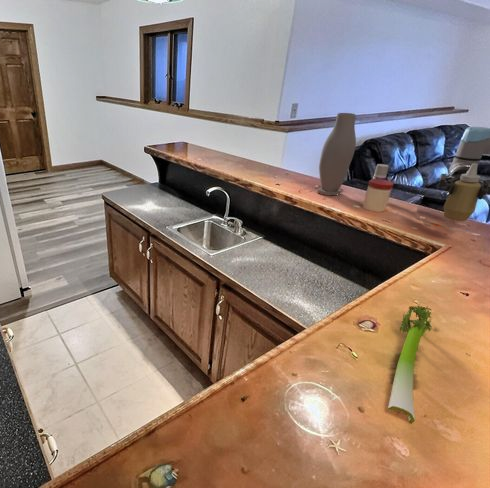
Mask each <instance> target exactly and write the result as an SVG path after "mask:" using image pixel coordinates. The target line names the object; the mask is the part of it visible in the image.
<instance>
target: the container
mask: <svg viewBox="0 0 490 488" xmlns="http://www.w3.org/2000/svg"><path fill="white" fill-rule="evenodd" d="M389 168H390V165H389V164H384V163H377V165H376V167H375V170H374V174H373V176H372V179H382V180H387V175H388V171H389Z"/></svg>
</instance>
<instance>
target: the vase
mask: <svg viewBox="0 0 490 488" xmlns="http://www.w3.org/2000/svg"><path fill="white" fill-rule="evenodd" d="M356 117H357V116H356V114H355V113H352V112H338V113H337V114H336V119H335V123H334V125H333V128H332V130H331V132H330V133H329V135H328V136H327V138H326V139H325V142H324V143H323V147H322V149H321V154H320V159H319V165H318V174H319V181H320V186H319V187H317V189H316V193H317V192H318V194H319V193H320V195H323V194H324V195H323V196H330V195H337V194H340V193H341V194H342V189H340V188H342V185H343V183H344V181H345V178H346V176H347V173H348V171H349V168H350V166H351V163H352V160H353V157H354V154H355V152H356V146H357V137H356V136H357V135H356V128H355V126H356V125H355V124H356V123H355V122H356ZM341 194H340V195H341ZM337 196H338V195H337Z"/></svg>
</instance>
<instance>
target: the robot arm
mask: <svg viewBox="0 0 490 488" xmlns="http://www.w3.org/2000/svg"><path fill="white" fill-rule="evenodd" d="M483 155H490V127H484V126H469V127H466V128H465V130H464V132H463V134H462V137H461V138H460V141H459V144H458V147H457V149H456V152H455V155H454V157H453V160H452V162H451V164H450V166H449V168H448V174H445V173H440V176H439V179H438V181H439V182H438V185H437V187H438V188H443V187H444V188H443V191H445V192H448V196H449V195H452V193H453V190H454V188H455V182H456V181H458V180H460V177H461V175H462V174H466V173H467V172H468V170H469V168H470V167H471V165H472V164H473V163H476V164H477V167H478V166H479V164H480V161H481V159H482V157H483ZM478 174H479V173H477V175H478ZM478 176H479V175H478ZM478 183H480V185H481V187H480V191H479V194H478V199H477V200H483V197H484V196H487V195H488V196H490V179H486V180H485V179H483V181H482V180H481V178H480V179H479V181H478Z"/></svg>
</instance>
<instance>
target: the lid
mask: <svg viewBox="0 0 490 488" xmlns="http://www.w3.org/2000/svg"><path fill="white" fill-rule="evenodd" d="M394 184H395V183H394V182H393V181H390V180H387V179H385V180H382V179H373V178H372V179H370V180H368V185H369V186H371V187H373V188H377V189H392V190H393V187H394Z"/></svg>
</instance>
